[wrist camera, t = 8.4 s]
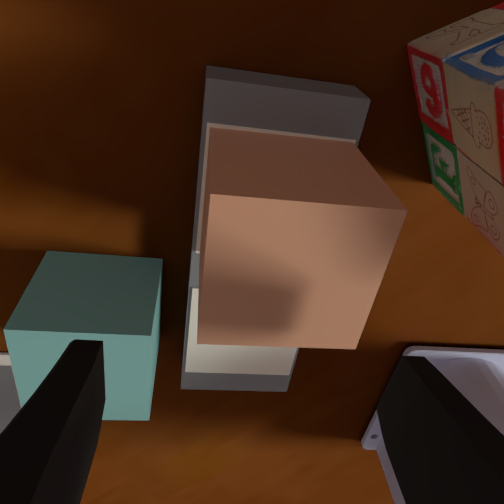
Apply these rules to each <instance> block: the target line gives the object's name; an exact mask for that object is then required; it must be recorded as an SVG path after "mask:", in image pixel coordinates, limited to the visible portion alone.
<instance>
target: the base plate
mask: <svg viewBox="0 0 504 504" xmlns="http://www.w3.org/2000/svg"><path fill="white" fill-rule="evenodd" d="M370 102H371V99H370V98H368V97H367V96H366V95H365V94H364V93H362V92H361V91H360V90H359V89H358V88H357V87H355V86H353V85H346V84H339V83H332V82H324V81H317V80H310V79H303V78H296V77H288V76H281V75H274V74H267V73H259V72H252V71H245V70H238V69H231V68H223V67H216V66H209V65H206V77H205V89H204V101H203V113H202V126H201V138H200V150H199V162H198V175H197V187H196V199H195V211H194V224H193V236H192V248H191V261H190V273H189V285H188V297H187V310H186V322H185V334H184V346H183V359H182V374H181V389H195V390H234V391H273V392H287V389H288V385H289V382H290V379H291V375H292V372H293V368H294V365H295V361H296V358H297V354H298V351H299V347H270V346H241V345H211V344H197V326H198V292H199V258H200V242H201V229H202V217H203V205H204V193H205V180H206V168H207V156H208V144H209V131H210V127H214V128H223V129H233V130H242V131H251V132H261V133H270V134H280V135H289V136H298V137H308V138H317V139H327V140H336V141H345V142H353V143H354V144H355V145H356V147H358V143H359V140H360V137H361V133H362V130H363V126H364V123H365V119H366V116H367V112H368V109H369V105H370Z"/></svg>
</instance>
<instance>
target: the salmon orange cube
mask: <svg viewBox="0 0 504 504" xmlns="http://www.w3.org/2000/svg"><path fill="white" fill-rule="evenodd" d="M407 211H408V210H407V209H406V208H405V206H404V205H403V204H402V203H401V201H400V200H399V199H398V198H397V196H396V195H395V194H394V193H393V191H392V190H391V189H390V188H389V186H388V185H387V184H386V183H385V182H384V180H383V179H382V178H381V177H380V175H379V174H378V173H377V172H376V170H375V169H374V168H373V167H372V165H371V164H370V163H369V162H368V160H367V159H366V158H365V157H364V155H363V154H362V153H361V152H360V150H359V149H358V148H357V147H356V145H355V144H354V143H353V142H345V141H336V140H327V139H317V138H308V137H298V136H289V135H280V134H270V133H261V132H251V131H242V130H233V129H223V128H214V127H210V131H209V144H208V156H207V168H206V180H205V193H204V205H203V217H202V229H201V242H200V258H199V292H198V326H197V344H211V345H241V346H270V347H300V348H330V349H356V347H357V344H358V342H359V339H360V336H361V334H362V331H363V328H364V326H365V323H366V320H367V318H368V315H369V312H370V310H371V307H372V304H373V302H374V299H375V296H376V294H377V291H378V288H379V286H380V283H381V280H382V278H383V275H384V273H385V270H386V267H387V265H388V262H389V259H390V257H391V254H392V251H393V249H394V246H395V243H396V241H397V238H398V235H399V233H400V230H401V227H402V225H403V222H404V219H405V217H406V214H407Z"/></svg>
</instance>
